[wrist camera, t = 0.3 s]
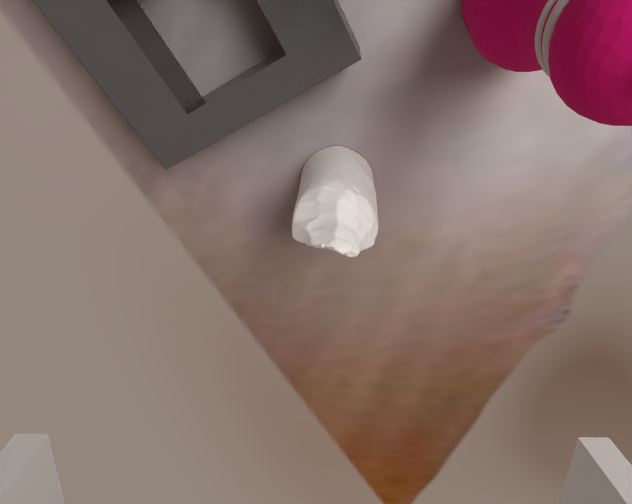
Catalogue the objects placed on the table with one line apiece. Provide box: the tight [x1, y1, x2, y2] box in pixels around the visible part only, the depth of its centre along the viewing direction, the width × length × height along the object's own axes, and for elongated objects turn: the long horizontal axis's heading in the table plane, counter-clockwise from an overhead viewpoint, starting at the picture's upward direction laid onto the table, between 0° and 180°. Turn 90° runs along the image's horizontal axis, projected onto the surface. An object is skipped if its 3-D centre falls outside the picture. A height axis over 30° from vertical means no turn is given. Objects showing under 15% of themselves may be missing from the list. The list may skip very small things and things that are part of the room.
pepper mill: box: [462, 0, 632, 126], centre depth 22 cm, size 7×7×20 cm
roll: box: [292, 146, 378, 257], centre depth 33 cm, size 6×12×6 cm
